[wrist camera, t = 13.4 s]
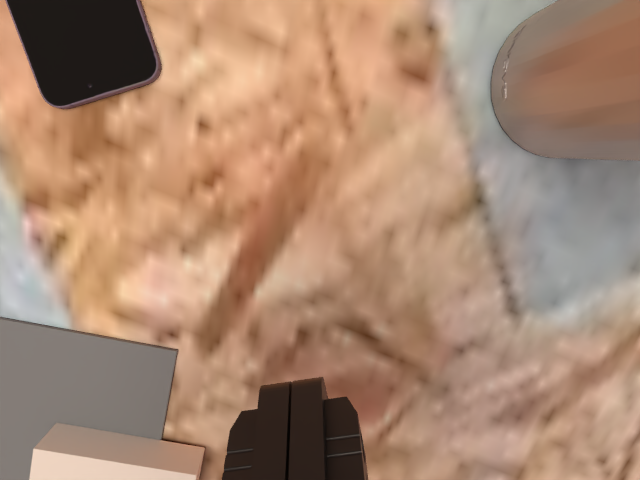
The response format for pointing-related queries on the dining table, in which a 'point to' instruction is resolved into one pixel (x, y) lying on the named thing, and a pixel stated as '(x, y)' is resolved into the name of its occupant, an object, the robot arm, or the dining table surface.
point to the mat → (76, 387)
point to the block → (111, 456)
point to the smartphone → (85, 48)
